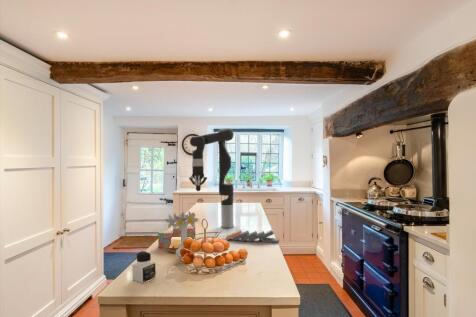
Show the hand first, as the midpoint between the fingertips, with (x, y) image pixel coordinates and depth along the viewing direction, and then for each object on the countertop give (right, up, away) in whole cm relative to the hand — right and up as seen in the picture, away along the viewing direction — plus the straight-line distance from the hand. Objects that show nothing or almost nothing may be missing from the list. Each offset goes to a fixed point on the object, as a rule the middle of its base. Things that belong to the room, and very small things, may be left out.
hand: (198, 190), depth 192 cm
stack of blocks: (-10, -32, -22) cm, 40 cm away
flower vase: (-2, -32, -42) cm, 52 cm away
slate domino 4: (+43, -30, -13) cm, 54 cm away
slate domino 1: (+25, -30, -9) cm, 40 cm away
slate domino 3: (+35, -30, -12) cm, 47 cm away
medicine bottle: (-15, -32, -66) cm, 75 cm away
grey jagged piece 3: (+30, -30, -11) cm, 43 cm away
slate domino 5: (+40, -29, -12) cm, 51 cm away
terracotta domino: (+20, -30, -8) cm, 37 cm away
